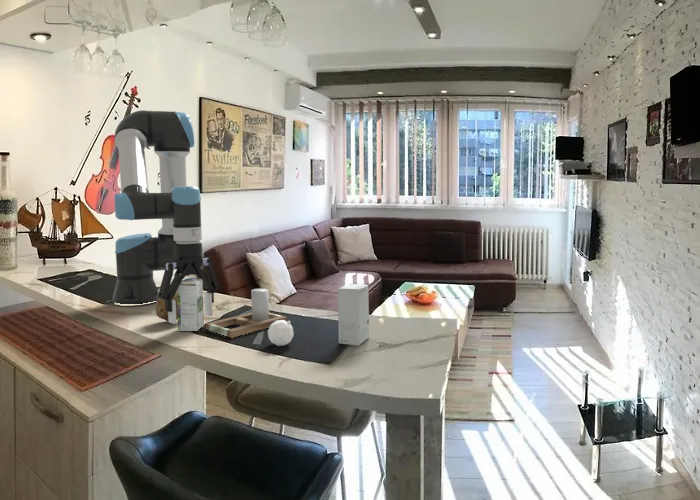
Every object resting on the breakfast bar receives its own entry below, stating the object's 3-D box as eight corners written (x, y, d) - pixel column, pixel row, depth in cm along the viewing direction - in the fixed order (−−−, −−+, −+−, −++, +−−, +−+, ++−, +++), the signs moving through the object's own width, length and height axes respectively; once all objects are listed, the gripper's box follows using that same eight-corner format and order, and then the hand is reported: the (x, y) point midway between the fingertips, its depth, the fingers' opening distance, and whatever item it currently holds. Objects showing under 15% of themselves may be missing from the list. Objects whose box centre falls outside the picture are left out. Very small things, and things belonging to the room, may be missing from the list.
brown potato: (195, 319, 167) (193, 287, 166) (177, 327, 159) (176, 293, 157) (169, 317, 170) (168, 285, 169) (151, 324, 162) (149, 291, 160)
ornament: (277, 339, 147) (294, 317, 146) (286, 354, 142) (303, 332, 141) (259, 331, 143) (275, 309, 142) (267, 347, 138) (285, 324, 137)
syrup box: (184, 326, 159) (182, 277, 157) (204, 326, 159) (202, 277, 157) (177, 332, 154) (175, 281, 152) (198, 332, 154) (196, 281, 152)
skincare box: (358, 346, 141) (359, 289, 139) (337, 344, 143) (337, 287, 141) (369, 337, 149) (370, 283, 147) (348, 335, 151) (349, 282, 149)
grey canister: (248, 323, 162) (247, 290, 161) (261, 320, 166) (260, 287, 165) (259, 326, 159) (258, 292, 158) (272, 323, 163) (272, 290, 162)
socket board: (205, 330, 155) (205, 323, 155) (260, 316, 170) (260, 310, 170) (231, 338, 148) (231, 331, 147) (286, 323, 163) (286, 316, 162)
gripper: (156, 247, 142) (160, 329, 145) (230, 239, 159) (232, 313, 162) (141, 244, 147) (145, 324, 150) (215, 237, 164) (217, 309, 167)
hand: (191, 318), depth 156 cm, fingers open, 11 cm apart
